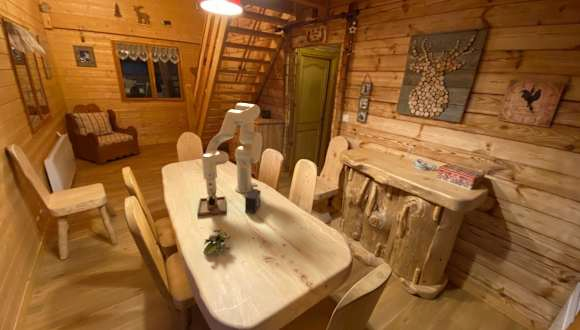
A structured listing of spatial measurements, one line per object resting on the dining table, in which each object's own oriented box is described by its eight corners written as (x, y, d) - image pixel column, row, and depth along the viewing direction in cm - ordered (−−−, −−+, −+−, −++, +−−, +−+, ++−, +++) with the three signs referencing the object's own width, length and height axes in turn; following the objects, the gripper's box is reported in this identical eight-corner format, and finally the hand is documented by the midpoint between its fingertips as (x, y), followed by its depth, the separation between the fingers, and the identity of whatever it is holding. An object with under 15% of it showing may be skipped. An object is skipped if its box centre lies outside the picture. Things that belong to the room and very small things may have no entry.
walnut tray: (225, 199, 154) (225, 196, 154) (225, 214, 139) (225, 210, 138) (200, 201, 150) (199, 198, 150) (197, 216, 135) (197, 213, 134)
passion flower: (219, 253, 116) (230, 230, 117) (225, 264, 106) (237, 239, 108) (197, 246, 110) (210, 223, 111) (201, 258, 101) (215, 232, 102)
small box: (255, 214, 140) (255, 198, 136) (244, 212, 141) (244, 197, 137) (261, 205, 150) (261, 190, 146) (251, 204, 151) (251, 189, 147)
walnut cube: (217, 203, 147) (216, 195, 145) (217, 207, 142) (216, 199, 140) (207, 204, 146) (207, 196, 144) (207, 208, 141) (206, 200, 139)
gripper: (216, 180, 130) (218, 207, 136) (217, 168, 146) (219, 193, 152) (202, 181, 128) (204, 208, 134) (204, 169, 144) (206, 194, 150)
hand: (212, 200), depth 143 cm, fingers open, 9 cm apart
